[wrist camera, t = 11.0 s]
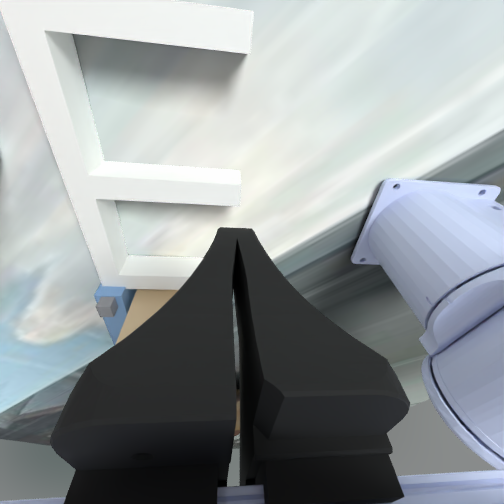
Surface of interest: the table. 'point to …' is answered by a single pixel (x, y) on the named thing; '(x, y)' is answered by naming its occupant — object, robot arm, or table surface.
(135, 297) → the beige tall block
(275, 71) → the table surface
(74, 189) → the white frame
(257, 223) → the table surface
